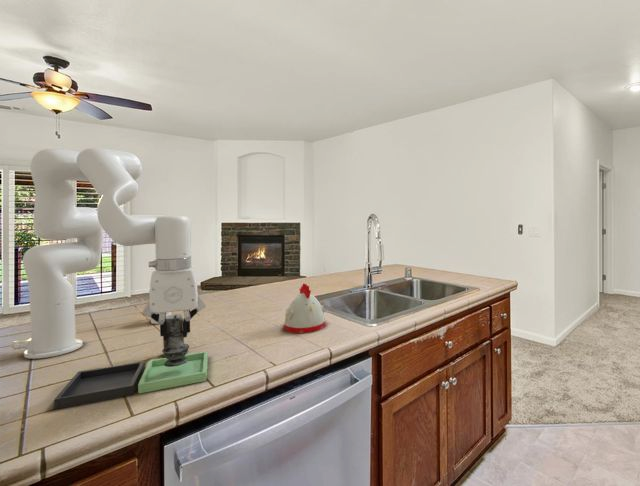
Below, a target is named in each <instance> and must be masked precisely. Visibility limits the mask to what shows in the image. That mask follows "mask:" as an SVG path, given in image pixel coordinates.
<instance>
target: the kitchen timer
mask: <svg viewBox="0 0 640 486" xmlns="http://www.w3.org/2000/svg"><path fill="white" fill-rule="evenodd" d="M311 292H312V291H311V289H310V285H308V284H306V283H302V285H301V286H300V288H299V294H298V295H297V296H296V297H294V299H293V300H292V301H291V303H290V305H289V306H288V307H286V309H285V318H284V330H285V331H287V332H288V333H289V332H290V333H293V334H294V333H295V334H304V333H306V334H307V333H313V332H316V331H319V330H322V329H323V328H325V326H326V316H325V307H324V304H321V303H320V301H319V300H318V299H317V297H315V296H314V295H313V294H311Z"/></svg>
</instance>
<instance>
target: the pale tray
mask: <svg viewBox="0 0 640 486" xmlns="http://www.w3.org/2000/svg"><path fill="white" fill-rule="evenodd" d="M184 357H186V358H188V361H187V362H186V363H184V364H182V365H179V366H174V367H167V366H164V363H165V362H166V361H167V360H168V359H167V358H165V357H161V358H154V359H150V360H148V362H147V364H146V366H145V370H144V372H143V375H142V377H141V379H140V381H139V383H138V386H137V391H138V394H145V393H149V392H154V391H159V390H165V389H170V388H176V387H181V386H187V385H191V384H196V383H201V382H206V381H207V374H208V361H209V352H208V350H206V351H200V352H194V353H187V354H186V355H185V356H184Z"/></svg>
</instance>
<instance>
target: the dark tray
mask: <svg viewBox="0 0 640 486" xmlns="http://www.w3.org/2000/svg"><path fill="white" fill-rule="evenodd" d="M145 369H146V360H144V361H143V360H142V361H137V362H129V363H123V364H117V365H112V366H105V367H98V368H93V369H85V370H81V371H77V373H76V374H74V376H73V377H72V378H71V379H70V380H69V382H68V383H66V385H65V387H64V388H63V389H62V390H61V391H60V392H59V393H58V395H57V396H56V397H55V398H54V399H53V406H54V407H53V408H54V410H59V409H64V408H69V407H75V406H80V405H86V404H90V403H96V402H101V401H106V400H111V399H112V400H113V399H117V398H122V397H127V396H133V395H134V394H135V392H136V389H138V384H139V382H140V380H141V378H142V375H143V373H144V371H145Z"/></svg>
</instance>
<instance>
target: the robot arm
mask: <svg viewBox="0 0 640 486" xmlns="http://www.w3.org/2000/svg"><path fill="white" fill-rule="evenodd" d="M142 171H143V165H142V163H141V160H140V159H139V157H138V156H137V155H135V154H134V153H132V152H130V151H125V150H118V149H111V148H110V149H109V148H104V147H89V148H86V149H83V150H82V151H79V150H73V149H63V148H45V149H41V150H39V151H37V152H36V153H35V154H34V155H33V156H32V158H31V163H30V175H31V179H32V181H33V185H34V190H35V191H34V193H35V195H34V206H33V207H34V208H33V224H32V225H33V232H34V235H35V237H37V238H38V239H41V240H45V241H47V240H48V241H50V240H51V241H54V240H56V241H57V240H58V241H59V240H71V239H76V241H69V242H55V243H54V242H53V243H44V244H38V245H35V246H32V247H30V248H28V249H27V250H26V251H25V252H24V254H23V256H22V264H23V269H24V271H25V275H26V279H27V284H28V285H27V286H28V296H29V299H28V300H29V314H30V315H29V317H30V318H29V319H30V338H27V339H25V340H23V339H22V340H15V341H12V342H11V348H12V349H13V350H21V349H25V351H23V357H24V358H25V359H32V360H34V359H35V360H36V359H38V360H39V359H46V358H47V359H48V358H53V357H58V356H62V355H66V354H68V353H71V352H74V351H76V350H78V349H81V347H83V345H84V344H83V342H84V341H83V339H79V338H77V337H76V336H77V335H76V334H77V333H76V309H75V308H76V306H75V288H74V286H73V285H72V283H70V281H68V279H66V277H65V276H66V275H70V274H71V275H72V274H75V273H76V274H78V273H83V272H89V271H92V270H94V269H97V267H98V266H99V265H100V262H101V259H102V252H103V241H104V232H105V233H106V234H107V236H108V237H109V238H110V240H112V241H113V242H114V243H116V244H118V245H120V246H123V247H133V246H143V245H154V244H155V259H154V260H152V261H148V268H154V269H155V270H153V271H152V272H151V275H150V276H151V277H150V282H149V290H150V296H149V301H148V303H147V304H146V305H145V307H144V309H143V310H142V312H141V315H143V316H145V317H148V318H150V319H151V318H152V319H154V320H155V321H157V322H158V323H159V324H158V325H159V334H160V335H159V336H160V337H162V339H163V340H166V339H167V338H168V336H167V334H168V322H167V319H166V313H167V312H171V313H175V312H183V316H184V317H183V337H184V338H187V336H188V334H189V333H191V320H192V319H193V317H194V316H195V315H197V313H199V312H201V311H202V310H203V309H205V308H206V307H207V306H206V303H205V301H203V299H202V298H201V297H200V295H199V292H198V291H199V289H198V281H197V275H196V274H197V273H196V270H195V268H194V267H192V239H191V238H192V236H191V235H192V234H191V233H192V232H191V220H190V217H188V216H186V215H167V214H127V213H126V212H125V211H124V210H123V209H122V207H120V206H123V205H125V204H127V203H129V202H131V201H133V199H134V198H136V196H137V195H138V192H139V191H140V190H139V189H140V188H139V184H138V182H136V180H137V179H139V178H140V176H141V175H142ZM69 181H72V182H73V181H75V182H76V181H77V182H87V183H88V182H89V184H91V186H92V187H93V189H94V190H95V191H96V192H97V193H98V195H99V196H100V198H99V200H98V203H97V208H96V209H95V208H93V207H89V206H88V207H87V206H76V199H77V193H76V190H75V189H74V187H73V186H72V184H71V182H69ZM158 313H160V314H158Z"/></svg>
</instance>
